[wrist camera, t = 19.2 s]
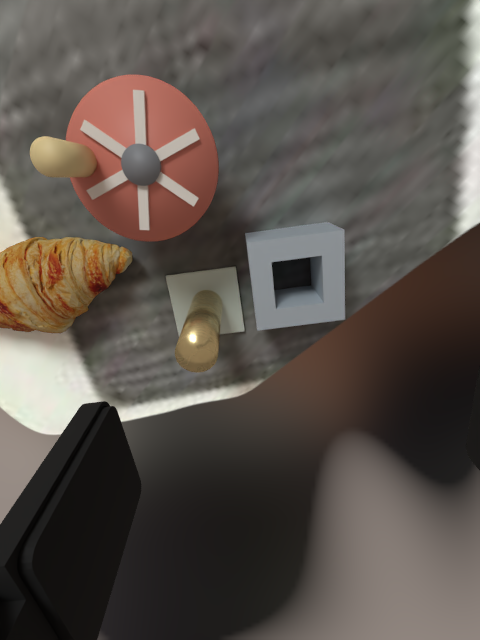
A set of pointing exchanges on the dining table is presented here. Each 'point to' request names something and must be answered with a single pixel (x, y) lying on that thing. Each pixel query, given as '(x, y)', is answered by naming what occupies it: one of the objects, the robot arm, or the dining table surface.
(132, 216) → the handwheel
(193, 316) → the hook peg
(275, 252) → the eye block
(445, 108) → the dining table surface
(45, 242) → the croissant
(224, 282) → the sage mat
